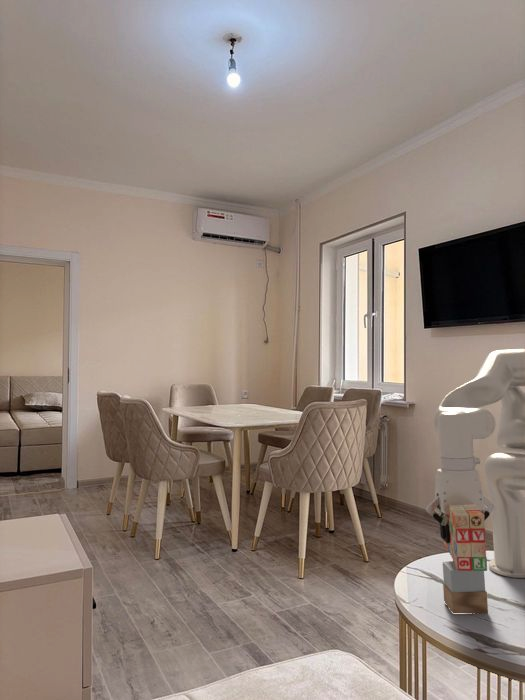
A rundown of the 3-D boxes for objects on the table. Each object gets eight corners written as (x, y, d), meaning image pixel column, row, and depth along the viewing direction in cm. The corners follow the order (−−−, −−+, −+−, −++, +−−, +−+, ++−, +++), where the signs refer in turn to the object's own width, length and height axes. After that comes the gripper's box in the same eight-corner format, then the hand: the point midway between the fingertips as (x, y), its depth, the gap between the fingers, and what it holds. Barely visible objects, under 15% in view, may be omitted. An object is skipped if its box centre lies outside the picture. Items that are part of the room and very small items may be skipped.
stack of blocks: (441, 538, 135) (437, 490, 135) (466, 538, 134) (463, 489, 134) (457, 571, 114) (454, 513, 114) (488, 571, 113) (484, 513, 113)
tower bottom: (477, 602, 126) (476, 581, 126) (488, 613, 120) (486, 591, 120) (444, 603, 126) (442, 582, 126) (453, 615, 120) (451, 593, 120)
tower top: (475, 581, 126) (474, 560, 126) (485, 591, 121) (483, 569, 121) (443, 582, 126) (442, 561, 126) (452, 592, 121) (450, 570, 121)
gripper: (487, 459, 128) (492, 533, 127) (415, 463, 128) (420, 537, 127) (501, 465, 120) (506, 544, 120) (425, 468, 120) (430, 547, 120)
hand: (462, 539), depth 123 cm, fingers closed on stack of blocks, 6 cm apart
